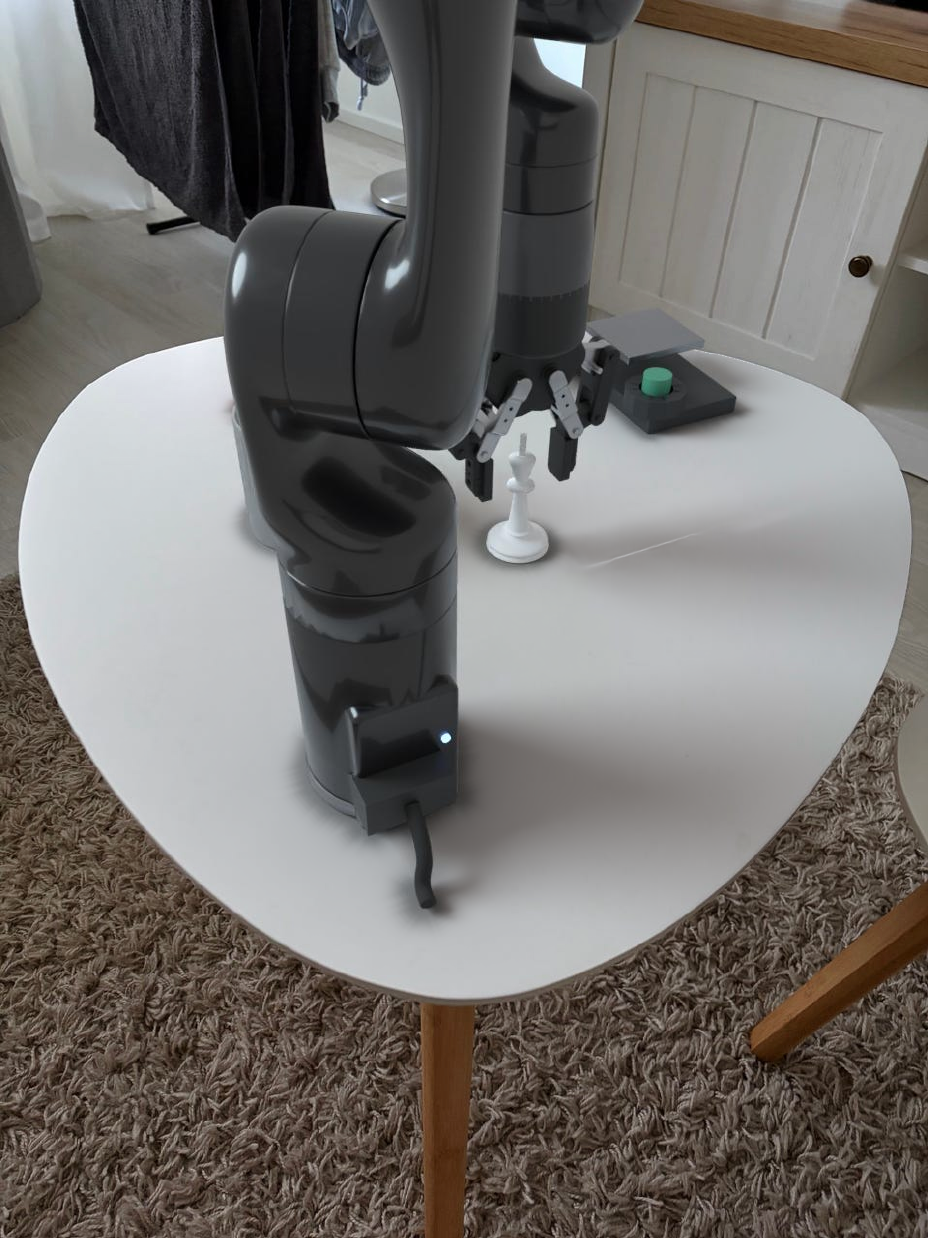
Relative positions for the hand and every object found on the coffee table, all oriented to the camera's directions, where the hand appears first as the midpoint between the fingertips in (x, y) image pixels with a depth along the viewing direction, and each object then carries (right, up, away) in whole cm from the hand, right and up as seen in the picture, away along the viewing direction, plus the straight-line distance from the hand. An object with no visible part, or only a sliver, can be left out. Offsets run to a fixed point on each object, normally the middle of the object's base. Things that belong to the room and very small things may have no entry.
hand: (520, 484), depth 74 cm
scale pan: (+13, +17, +22) cm, 30 cm away
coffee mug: (-17, -1, +8) cm, 19 cm away
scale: (+14, +12, +22) cm, 29 cm away
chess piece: (0, -4, +4) cm, 6 cm away
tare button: (+13, +11, +16) cm, 23 cm away
